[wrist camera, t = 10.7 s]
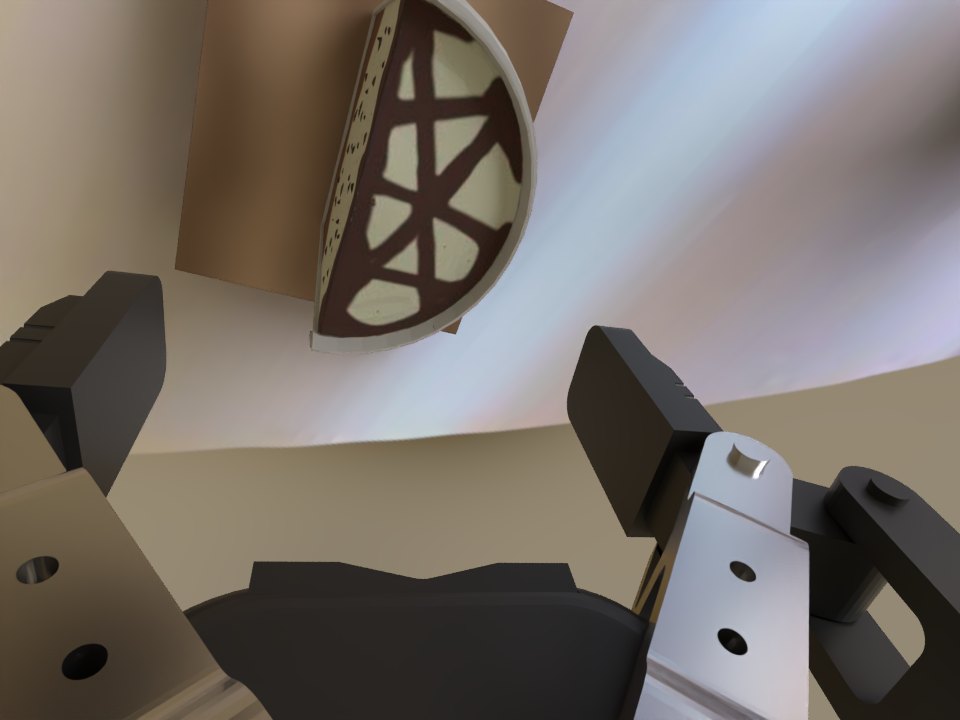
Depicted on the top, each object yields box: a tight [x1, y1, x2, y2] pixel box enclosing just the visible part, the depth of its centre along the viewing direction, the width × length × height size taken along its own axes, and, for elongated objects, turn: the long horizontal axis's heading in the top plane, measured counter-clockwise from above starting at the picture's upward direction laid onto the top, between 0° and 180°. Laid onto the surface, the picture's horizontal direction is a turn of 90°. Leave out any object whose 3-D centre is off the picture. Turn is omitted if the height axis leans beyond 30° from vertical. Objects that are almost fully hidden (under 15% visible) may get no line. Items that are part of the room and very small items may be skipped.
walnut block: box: [175, 0, 574, 334], centre depth 29 cm, size 14×16×5 cm
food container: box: [310, 0, 537, 354], centre depth 23 cm, size 12×6×10 cm, turn 160°
